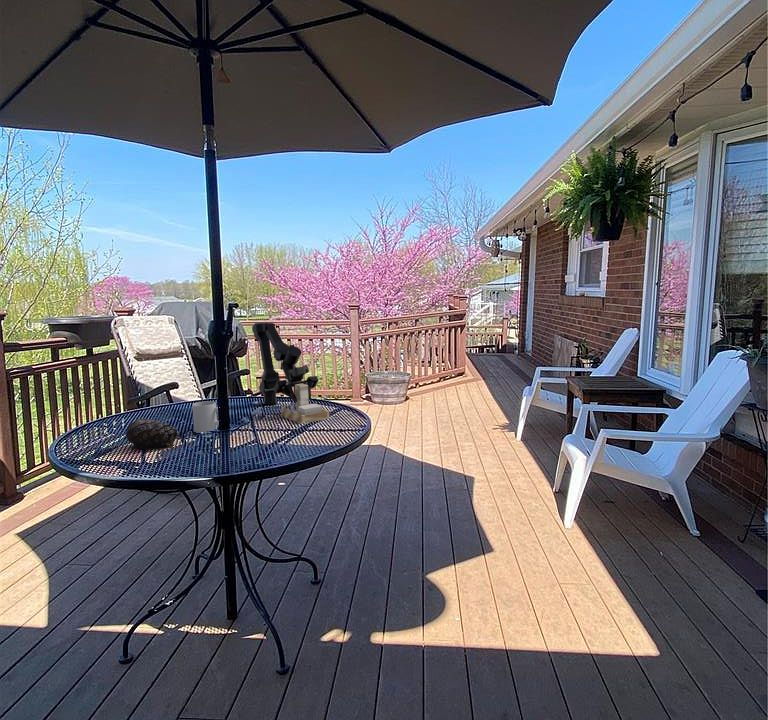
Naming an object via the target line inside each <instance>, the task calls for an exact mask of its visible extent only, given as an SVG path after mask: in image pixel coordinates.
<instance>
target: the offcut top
mask: <svg viewBox="0 0 768 720" xmlns="http://www.w3.org/2000/svg"><path fill="white" fill-rule="evenodd" d="M309 404H310V405H305V406H299V407H298V413H300V414H303V415H306V414H312V413H317V412H322V409H323V405H320V404H317V403H309Z"/></svg>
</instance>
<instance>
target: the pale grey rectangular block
mask: <svg viewBox="0 0 768 720" xmlns="http://www.w3.org/2000/svg"><path fill="white" fill-rule="evenodd" d="M294 391H295V392H294V394H295V396H296V398H297V402H295V411H296V412H298V407H299V406H305V405H309V404H310V403H309V402H310V400H309V398H308V385H306V384H295V387H294Z"/></svg>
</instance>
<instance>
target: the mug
mask: <svg viewBox="0 0 768 720" xmlns="http://www.w3.org/2000/svg"><path fill="white" fill-rule="evenodd" d="M217 412H219V411H218V407H217V403H216V402H215V401H211V400H209V401H208V400H206V401H198V402H195V403H192V418H193V433H194V432H196V433H201V432H206V431H211V430H214V429H217V427H218V426H219V421H220V420H218V416H217ZM218 428H219V427H218Z"/></svg>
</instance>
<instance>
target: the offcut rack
mask: <svg viewBox="0 0 768 720" xmlns="http://www.w3.org/2000/svg"><path fill="white" fill-rule="evenodd" d="M310 404H311V403H309V405H310ZM280 410H281V413H280V414H279V415H280V416H281V417H284V418H287V419H289V420H291V421H293V422H296V423H298V424H300V425H302V424H306V423H312V422H318V421H322V420H328V419H331V418H332V417H331V416H330V410H328V409H325V408H322V412H317V413H312V414H306V415H303V414H300V413H298V412H296V410H292V409H290V408H289V407H288V408H287V407H285V406H281V409H280Z"/></svg>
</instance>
